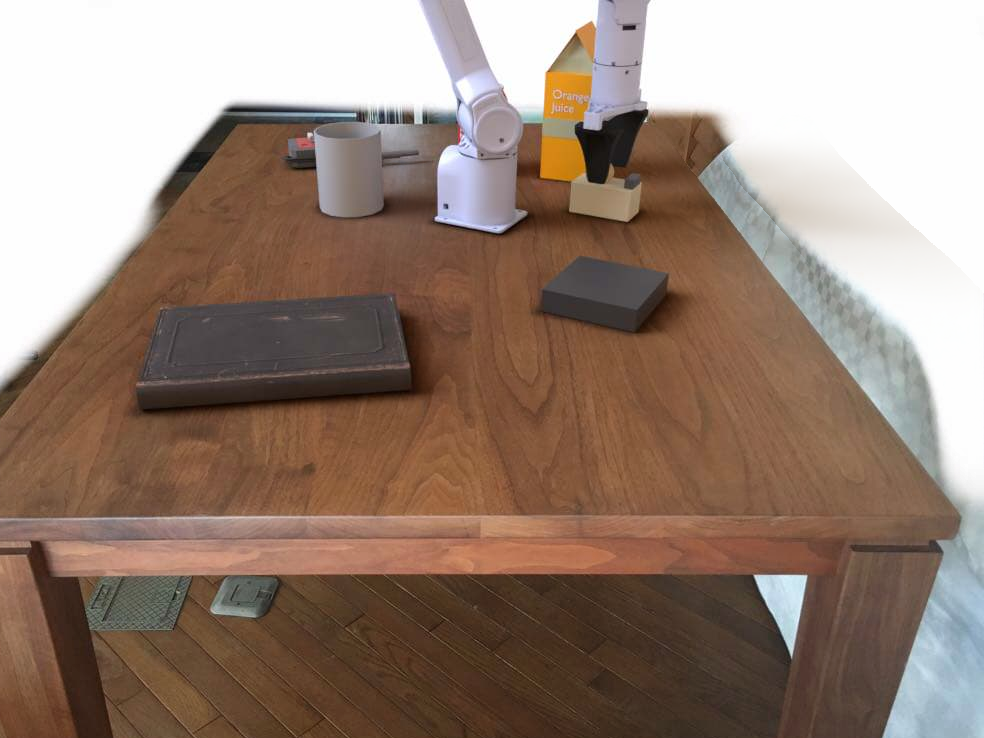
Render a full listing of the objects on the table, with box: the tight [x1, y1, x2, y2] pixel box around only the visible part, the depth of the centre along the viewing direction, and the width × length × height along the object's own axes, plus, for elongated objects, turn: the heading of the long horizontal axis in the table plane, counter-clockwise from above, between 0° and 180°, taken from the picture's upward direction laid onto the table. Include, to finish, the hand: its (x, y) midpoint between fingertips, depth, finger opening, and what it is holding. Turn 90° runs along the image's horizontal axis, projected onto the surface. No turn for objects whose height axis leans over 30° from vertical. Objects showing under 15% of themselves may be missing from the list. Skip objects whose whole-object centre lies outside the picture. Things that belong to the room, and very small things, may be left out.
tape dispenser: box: [568, 164, 643, 223], centre depth 115 cm, size 8×4×7 cm, turn 61°
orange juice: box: [539, 20, 596, 182], centre depth 126 cm, size 8×9×20 cm
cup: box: [313, 121, 385, 218], centre depth 117 cm, size 8×8×10 cm
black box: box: [540, 255, 670, 333], centre depth 93 cm, size 10×10×2 cm
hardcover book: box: [135, 292, 412, 410], centre depth 83 cm, size 16×23×2 cm
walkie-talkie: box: [283, 132, 420, 169], centre depth 136 cm, size 9×4×20 cm
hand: (607, 174), depth 114 cm, fingers open, 7 cm apart
